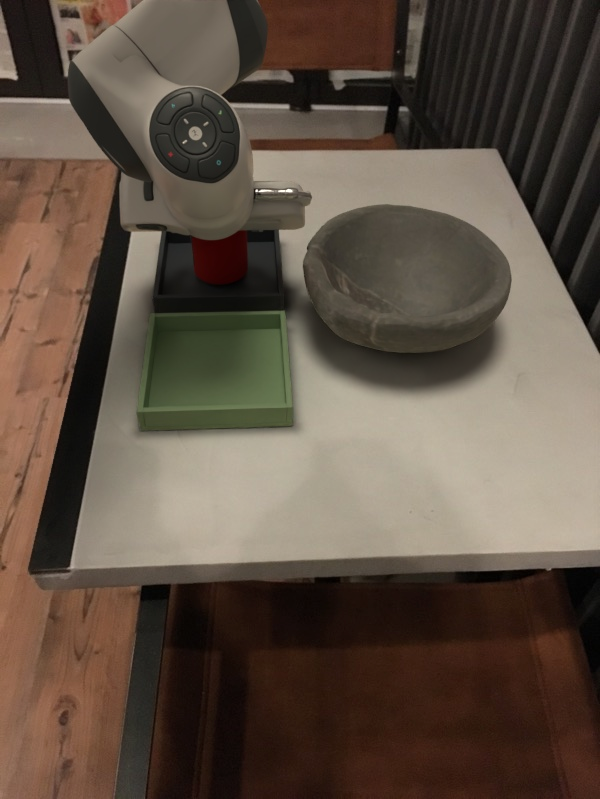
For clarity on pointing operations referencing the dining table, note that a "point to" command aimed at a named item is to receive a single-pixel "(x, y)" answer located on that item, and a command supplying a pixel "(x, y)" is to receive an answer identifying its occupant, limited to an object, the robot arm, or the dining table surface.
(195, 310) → the slate tray
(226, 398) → the sage tray
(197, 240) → the beverage can
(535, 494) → the dining table surface
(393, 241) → the bowl
